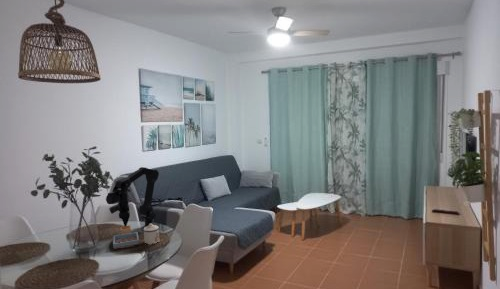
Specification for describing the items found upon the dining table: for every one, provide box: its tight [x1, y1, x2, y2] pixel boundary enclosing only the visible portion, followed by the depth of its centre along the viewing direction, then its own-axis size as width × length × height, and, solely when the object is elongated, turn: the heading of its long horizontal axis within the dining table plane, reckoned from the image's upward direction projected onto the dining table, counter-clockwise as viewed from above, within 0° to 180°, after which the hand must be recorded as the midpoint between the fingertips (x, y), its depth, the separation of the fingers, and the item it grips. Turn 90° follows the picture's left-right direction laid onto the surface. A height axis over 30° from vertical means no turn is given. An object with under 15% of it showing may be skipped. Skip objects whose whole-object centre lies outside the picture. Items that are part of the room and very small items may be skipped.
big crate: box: [112, 231, 140, 248], centre depth 202 cm, size 14×14×4 cm
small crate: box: [120, 224, 132, 235], centre depth 213 cm, size 6×6×6 cm
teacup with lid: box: [142, 223, 160, 244], centre depth 203 cm, size 12×9×12 cm
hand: (125, 223), depth 212 cm, fingers open, 9 cm apart
